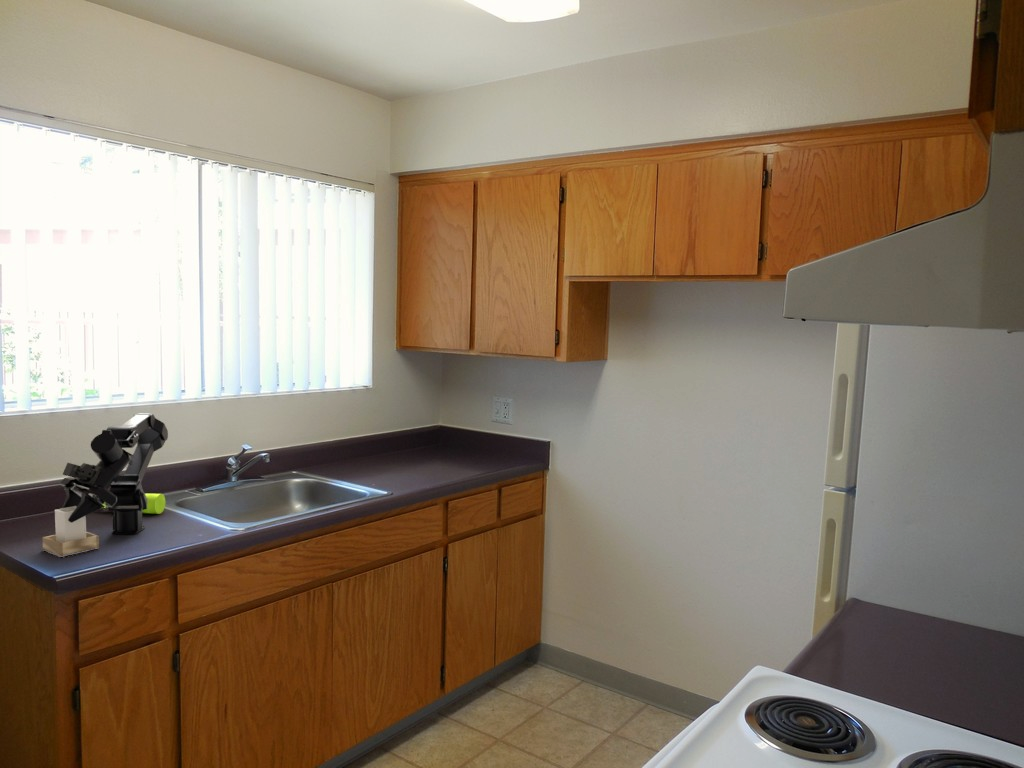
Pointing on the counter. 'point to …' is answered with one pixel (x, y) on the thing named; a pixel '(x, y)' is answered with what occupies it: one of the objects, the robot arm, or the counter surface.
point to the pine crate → (70, 544)
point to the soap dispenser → (153, 503)
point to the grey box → (69, 526)
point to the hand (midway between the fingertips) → (64, 519)
